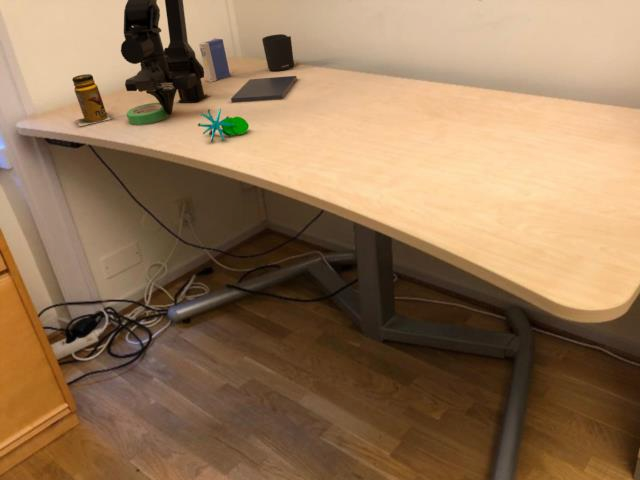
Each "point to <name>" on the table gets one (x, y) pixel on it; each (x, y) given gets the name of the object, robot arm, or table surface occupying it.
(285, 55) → the black speaker
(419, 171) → the table surface
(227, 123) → the stick construction toy
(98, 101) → the condiment
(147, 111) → the tape roll
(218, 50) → the blue white rectangular box
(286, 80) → the notebook
